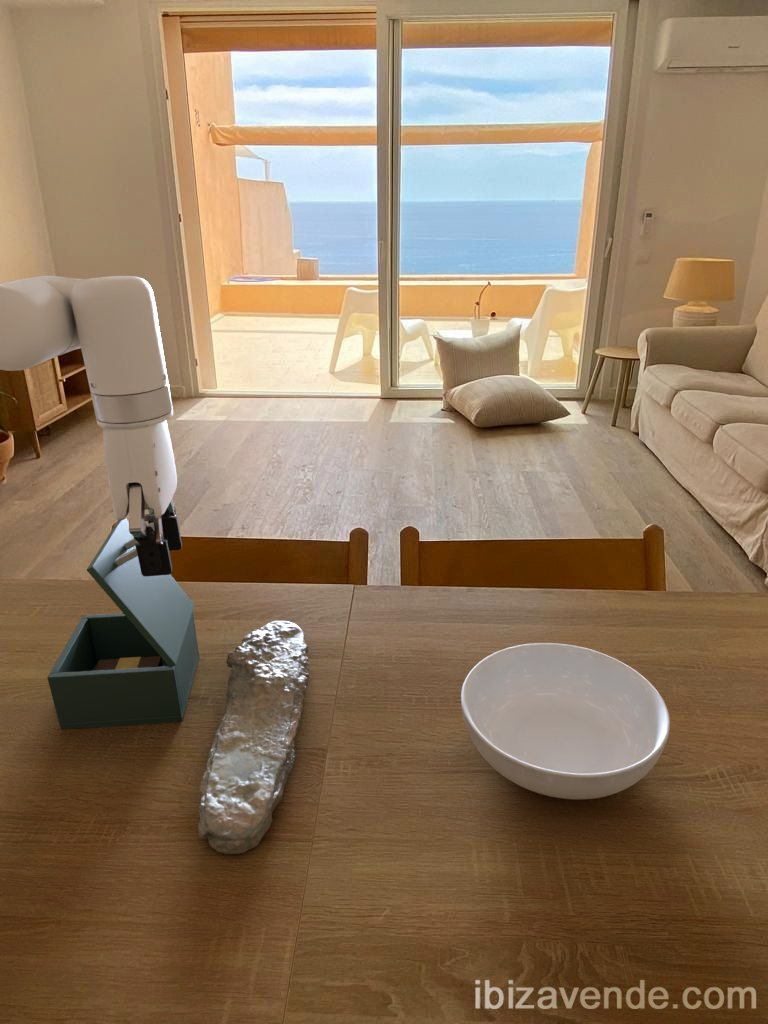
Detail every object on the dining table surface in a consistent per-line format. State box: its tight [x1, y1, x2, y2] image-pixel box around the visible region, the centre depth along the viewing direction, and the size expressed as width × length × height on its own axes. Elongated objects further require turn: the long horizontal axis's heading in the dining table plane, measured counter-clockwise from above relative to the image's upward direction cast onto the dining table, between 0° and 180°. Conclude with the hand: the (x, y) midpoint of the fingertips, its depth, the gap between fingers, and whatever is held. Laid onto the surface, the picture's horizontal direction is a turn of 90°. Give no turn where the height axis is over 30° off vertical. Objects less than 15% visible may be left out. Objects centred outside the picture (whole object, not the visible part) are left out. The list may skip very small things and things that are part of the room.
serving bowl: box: [460, 642, 671, 800], centre depth 73 cm, size 21×21×7 cm
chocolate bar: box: [94, 656, 163, 671], centre depth 84 cm, size 8×4×3 cm, turn 95°
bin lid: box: [86, 517, 195, 667], centre depth 79 cm, size 14×13×5 cm
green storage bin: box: [47, 610, 200, 730], centre depth 83 cm, size 14×13×7 cm
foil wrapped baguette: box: [197, 620, 310, 855], centre depth 78 cm, size 35×5×10 cm
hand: (162, 560), depth 78 cm, fingers closed on bin lid, 5 cm apart
